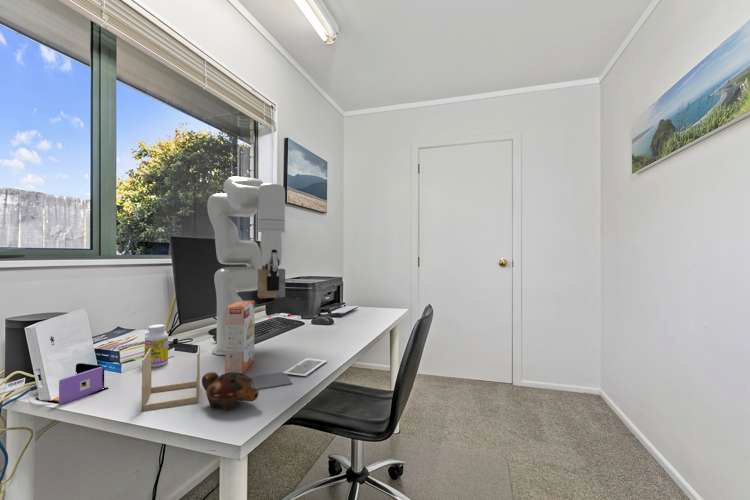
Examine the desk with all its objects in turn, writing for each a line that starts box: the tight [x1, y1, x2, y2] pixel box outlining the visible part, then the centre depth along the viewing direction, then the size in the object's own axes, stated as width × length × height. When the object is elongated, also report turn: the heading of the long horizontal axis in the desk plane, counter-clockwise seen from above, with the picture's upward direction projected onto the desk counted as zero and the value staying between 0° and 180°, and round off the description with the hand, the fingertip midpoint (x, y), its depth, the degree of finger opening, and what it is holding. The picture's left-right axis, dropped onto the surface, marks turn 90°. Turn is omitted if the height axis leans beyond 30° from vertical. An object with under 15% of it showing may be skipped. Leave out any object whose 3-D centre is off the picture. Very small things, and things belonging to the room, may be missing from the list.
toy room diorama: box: [35, 362, 110, 405], centre depth 89 cm, size 12×12×7 cm
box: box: [257, 268, 286, 299], centre depth 100 cm, size 5×7×8 cm
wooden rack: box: [141, 342, 201, 412], centre depth 88 cm, size 12×12×12 cm
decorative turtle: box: [201, 371, 260, 412], centre depth 83 cm, size 10×15×8 cm, turn 79°
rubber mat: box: [250, 371, 293, 391], centre depth 100 cm, size 10×10×1 cm
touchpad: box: [282, 357, 328, 377], centre depth 110 cm, size 8×15×2 cm, turn 163°
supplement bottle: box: [144, 323, 169, 368], centre depth 114 cm, size 7×7×13 cm
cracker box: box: [224, 300, 256, 375], centre depth 111 cm, size 14×6×21 cm, turn 7°
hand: (271, 288), depth 100 cm, fingers closed on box, 5 cm apart
